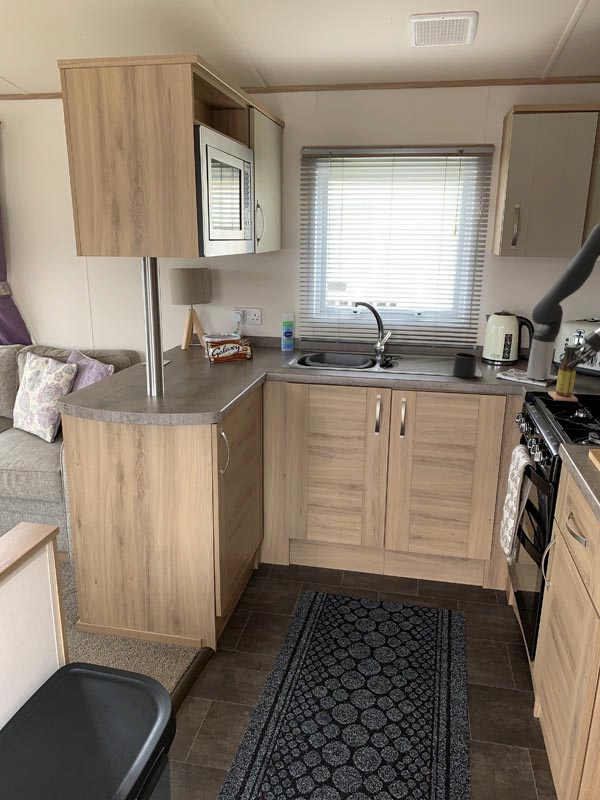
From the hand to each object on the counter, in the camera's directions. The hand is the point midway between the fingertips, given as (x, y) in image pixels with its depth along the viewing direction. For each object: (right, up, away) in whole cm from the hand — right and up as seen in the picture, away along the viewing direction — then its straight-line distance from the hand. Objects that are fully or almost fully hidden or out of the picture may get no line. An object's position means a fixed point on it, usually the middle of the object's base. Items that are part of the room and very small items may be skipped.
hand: (565, 365), depth 238 cm
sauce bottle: (+1, -12, +4) cm, 12 cm away
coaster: (+1, -13, +4) cm, 13 cm away
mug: (-32, -3, +31) cm, 44 cm away
